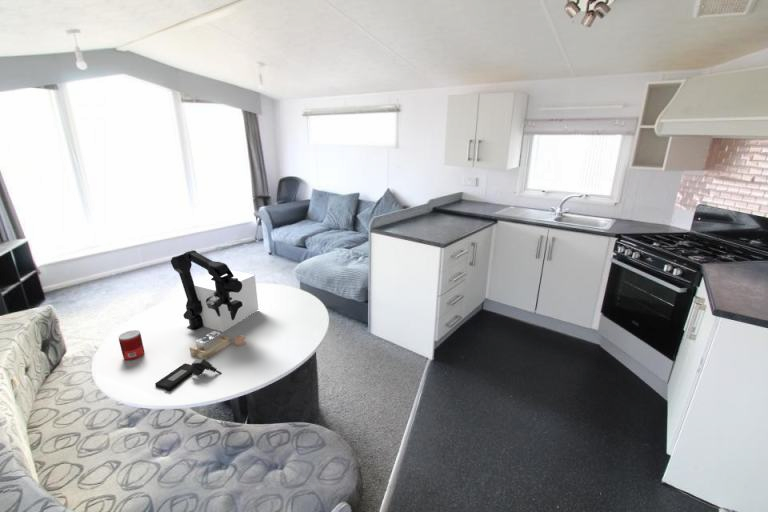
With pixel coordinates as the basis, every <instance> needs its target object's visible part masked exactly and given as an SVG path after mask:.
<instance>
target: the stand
mask: <svg viewBox="0 0 768 512" xmlns="http://www.w3.org/2000/svg"><path fill="white" fill-rule="evenodd" d="M222 340H223V341H221V342H219V343H218V344H216V345H214V346H213V347H211V348H209V349H207V350H206V351H202V350H199V349H197V347H196V345H195V346H189V347H188V348H189V354H190V355H191V356H193V357H197V358H198V359H199V358H200V359H204V360H205V361H207V360H208V359H209V358H211V357H213V356H214V355H215V354H217V353H218V352H220V351H222V350H223V349H224V348H226V347H228V346H229V345H231V343H232V342H231V338H230V337H228V336H225V335H222Z"/></svg>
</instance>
